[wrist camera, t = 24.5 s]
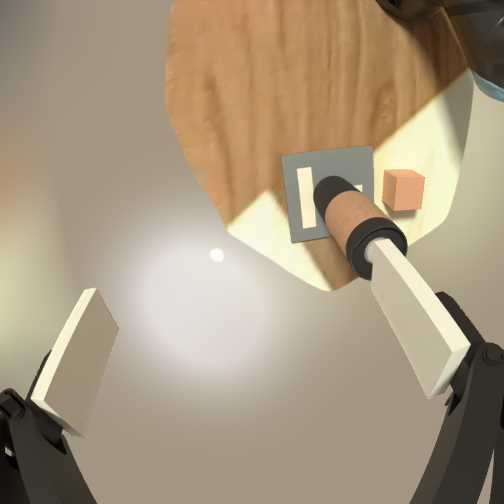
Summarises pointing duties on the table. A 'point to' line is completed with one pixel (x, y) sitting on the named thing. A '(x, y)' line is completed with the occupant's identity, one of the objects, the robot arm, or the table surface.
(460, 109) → the table surface
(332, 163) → the letter mat
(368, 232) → the travel mug
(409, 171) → the terracotta block
